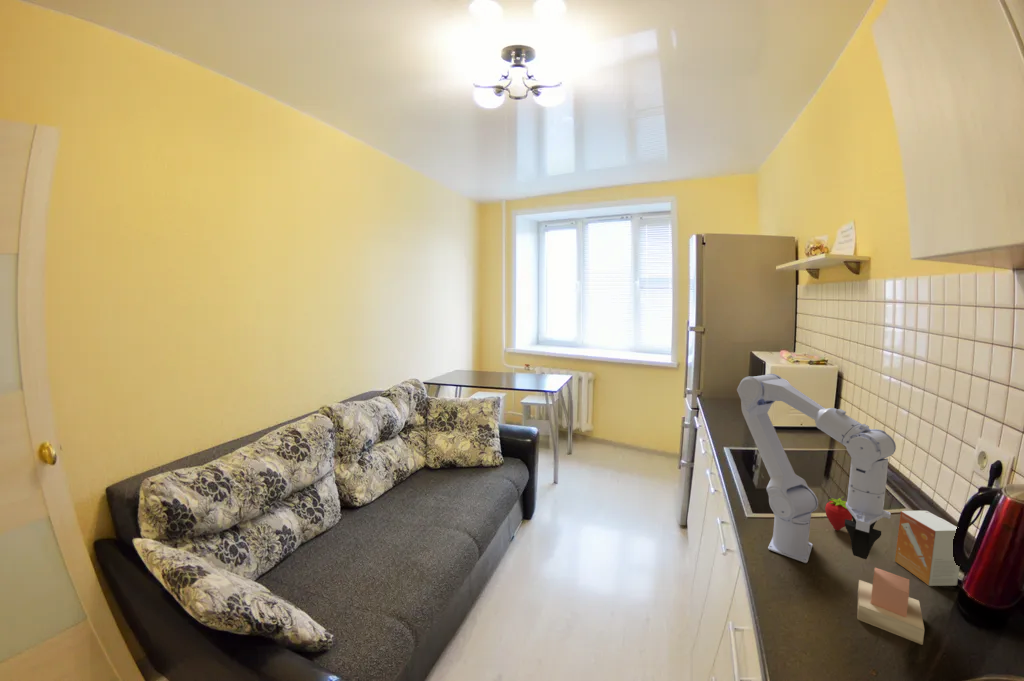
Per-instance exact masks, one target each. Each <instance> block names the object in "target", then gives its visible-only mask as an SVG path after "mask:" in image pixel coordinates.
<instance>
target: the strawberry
mask: <svg viewBox="0 0 1024 681" xmlns="http://www.w3.org/2000/svg"><path fill="white" fill-rule="evenodd" d="M842 498H844V496H841V498H840V497H839V498H837V499H836V498H832V497H831V498H830V499H829V498H828V499H827V500H828V502H826V504H825V507H824V510H825V515H826V517H827V519H828V522H829V523H830V524H831V526H832V527H833V529H834V530H835V531H840V530H842V529H843V528H846V527H845V519H847V520H851V521H853V519H852V515H851V513H850V512H849V510H848V509H847V508H846V502H847V500H842Z"/></svg>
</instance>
